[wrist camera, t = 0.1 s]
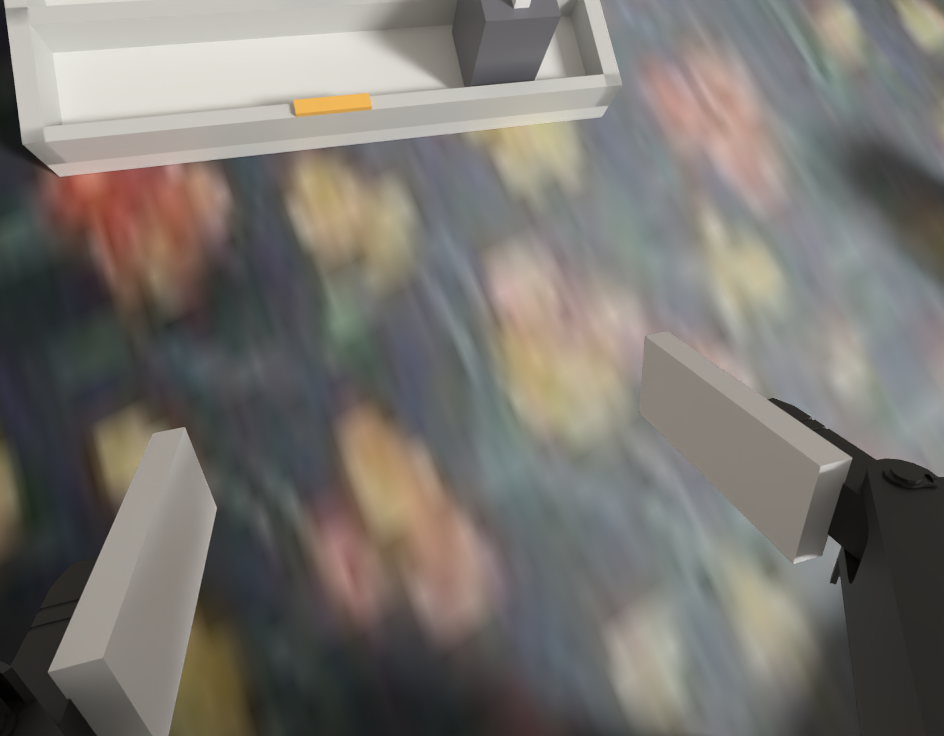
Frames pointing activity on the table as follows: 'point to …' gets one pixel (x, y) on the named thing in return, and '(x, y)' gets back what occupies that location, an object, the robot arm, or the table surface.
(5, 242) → the table surface
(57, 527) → the table surface
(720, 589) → the table surface
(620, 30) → the table surface
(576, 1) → the tray
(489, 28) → the tab
